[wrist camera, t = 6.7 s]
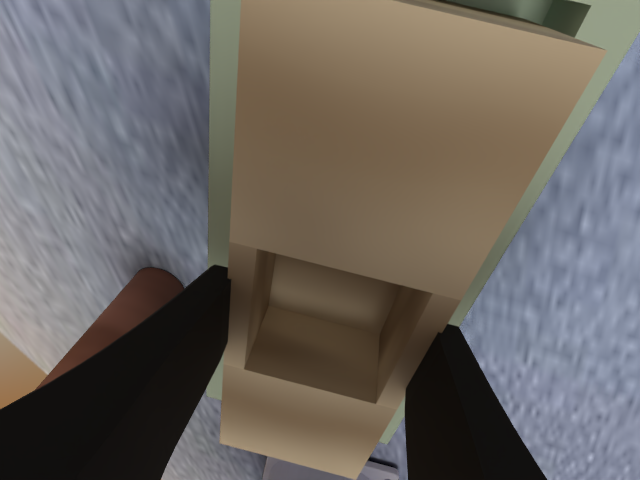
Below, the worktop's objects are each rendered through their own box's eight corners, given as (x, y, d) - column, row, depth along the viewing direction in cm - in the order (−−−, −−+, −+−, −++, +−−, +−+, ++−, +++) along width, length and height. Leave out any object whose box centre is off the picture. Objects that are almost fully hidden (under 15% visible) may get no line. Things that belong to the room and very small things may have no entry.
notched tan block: (364, 380, 17) (356, 480, 13) (254, 352, 17) (219, 443, 13) (526, 19, 8) (607, 50, 5) (302, -33, 8) (243, -35, 5)
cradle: (385, 388, 19) (384, 449, 16) (230, 348, 19) (206, 402, 17) (621, -73, 8) (715, -94, 6) (265, -153, 8) (212, -204, 6)
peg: (186, 312, 18) (89, 466, 12) (138, 299, 18) (20, 447, 12) (184, 275, 17) (74, 430, 11) (132, 261, 17) (-4, 409, 11)
